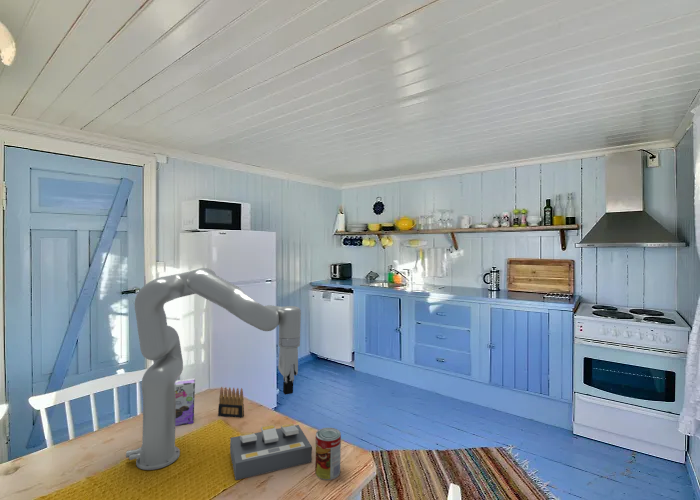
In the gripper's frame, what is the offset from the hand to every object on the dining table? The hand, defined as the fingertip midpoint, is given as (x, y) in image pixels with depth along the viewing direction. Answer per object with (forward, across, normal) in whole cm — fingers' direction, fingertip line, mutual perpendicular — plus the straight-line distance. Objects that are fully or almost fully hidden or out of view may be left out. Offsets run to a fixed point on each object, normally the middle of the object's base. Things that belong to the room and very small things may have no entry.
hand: (288, 393), depth 124 cm
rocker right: (+12, +3, 0) cm, 13 cm away
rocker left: (+12, +3, -14) cm, 19 cm away
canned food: (+19, +19, +8) cm, 28 cm away
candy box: (+20, -34, -37) cm, 54 cm away
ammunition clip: (+19, -32, -16) cm, 40 cm away
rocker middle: (+12, +3, -7) cm, 14 cm away
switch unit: (+19, +4, -7) cm, 21 cm away
